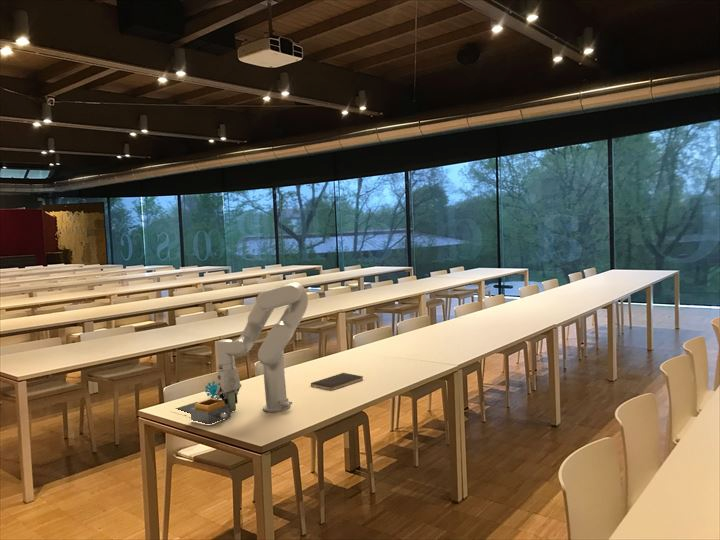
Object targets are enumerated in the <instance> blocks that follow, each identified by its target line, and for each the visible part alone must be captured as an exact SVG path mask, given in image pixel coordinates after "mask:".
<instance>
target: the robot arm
mask: <svg viewBox="0 0 720 540" xmlns="http://www.w3.org/2000/svg"><path fill="white" fill-rule="evenodd" d="M308 297H309V296H308V293H307V291H306V289H305V287H304V286H303V285H302V284H301V283H299V282H297V281H292V282H289V283H288V284H285V285H282V286H279V287H276V288H273V289H271V288H269V289H265V290H263V291H261V292H260V293H259V294H258V295H257V298H256V302H255V304H254V305H253V307H252V309H251V310H250V313H249V314H248V317H247V323H246V326H245V327H244V329H243V331H242V333H241V334H240V336H239V337H238V338H237V339H235V340H232V339H229V338H225V339H220V340H218V341H216V344H215V345H216V346H215V347H216V355H217V356H216V357H217V367H216V370H217V375H216V376H217V378H216V380H217V381H216V384H217V387H218V389H217V391H216V393H215V394H216V395H218V398H219V399H220V400H224V403H225V404H228V399H227V398H226V397H227V393H228V392H231V391H233V390H234V391H235V402H236V404H238V395H239V391H240V390H241V388H242V384H241V380H240V375H239V371H238V368H237V367H236V362H235V357H242V356H244V355H246V354H247V353H248V352H249V351H251V349H252V348H253V346H254V345H255V343H256V341H257V339H258V338H259V336H260V335H261V332H262V330H264V327H265V325H266V324H267V323H268V321H269V318H270V317H271V315H272V313H273V312H274V310H275V309H278V308H280V307H285V306H286V308H285V310H283V313H282V315H281V317H280V318H279V320H277V322H276V323H275V324H274V325H273V326H272V327H271V329H270V330H269V332H268V333H267V335H266V337H265V339H264V340H263V342H262V343H261V345H260V348H258V351H257V360H258V361H259V362H260V364H262V367H263V369H262V370H263V380H264V381H263V382H264V395H265V404H264V405H263V406H262V410H263V411H264V412H267V413H268V412H269V413H279V412H282V411H286V410H288V409H290V408H291V406H292V405H293V402H292V401H289V397H287V387H286V376H285V375H286V373H285V349H286V346H288V343H290V340H291V339H292V338H293V336H294V333H296V332H295V331H296V330H297V328H298V326H299V324H300V323H301V321H302V318H303V317H304V315H305V313H306V311H307V308H308V305H309V298H308ZM220 392H221V393H220ZM223 394H224V395H223ZM216 395H215V396H216Z"/></svg>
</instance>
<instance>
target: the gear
mask: <svg viewBox="0 0 720 540" xmlns="http://www.w3.org/2000/svg"><path fill="white" fill-rule="evenodd" d="M211 384H212V385H211ZM217 389H218V387H217V383H216V382H215V380H214V381H212V383H211V382H208V383H207V385H206V386H205V391H204V392H205V393H206V396H207V397H210V398H213V399H216V398H218V399H219V396H218V395H216V394H215V393H216V391H217ZM220 393H221V392H220ZM223 395H224V394H223ZM214 397H215V398H214Z"/></svg>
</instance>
